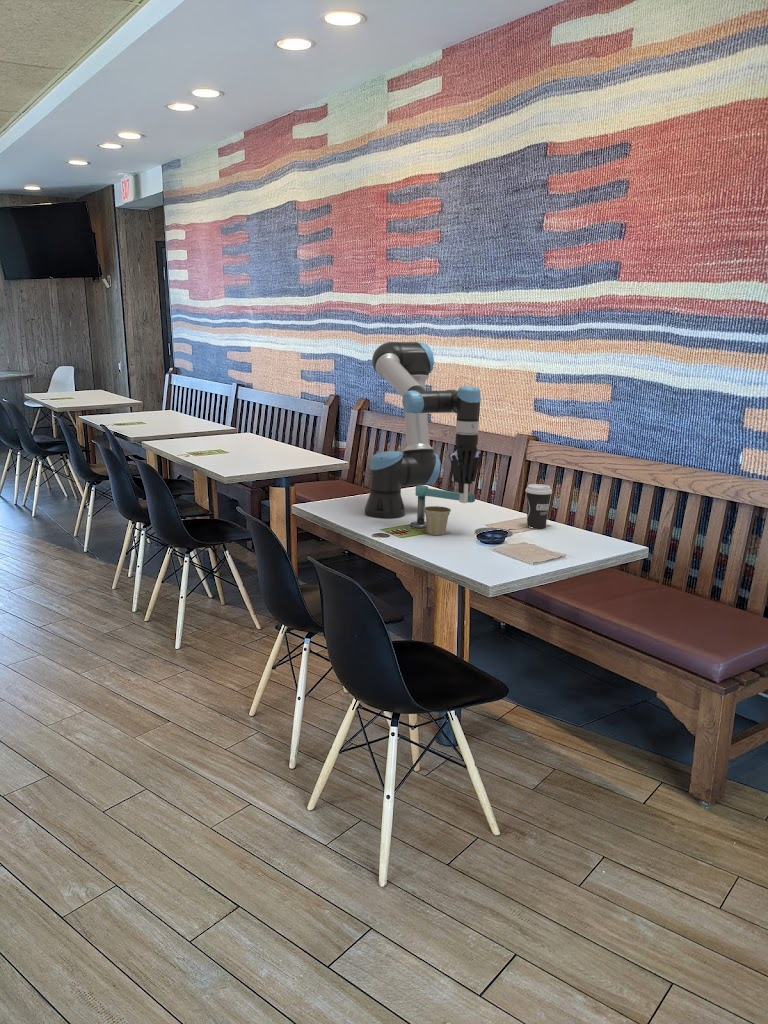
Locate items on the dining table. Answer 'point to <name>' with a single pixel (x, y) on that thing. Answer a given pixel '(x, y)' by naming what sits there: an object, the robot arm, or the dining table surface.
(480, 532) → the pad
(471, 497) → the teal paddle stick
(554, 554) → the dining table surface
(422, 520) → the grey pedestal stand
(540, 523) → the coffee cup
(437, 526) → the flower pot
